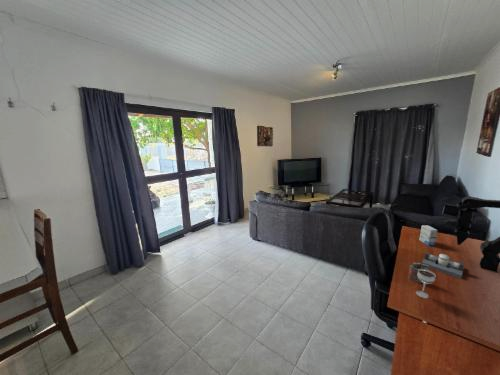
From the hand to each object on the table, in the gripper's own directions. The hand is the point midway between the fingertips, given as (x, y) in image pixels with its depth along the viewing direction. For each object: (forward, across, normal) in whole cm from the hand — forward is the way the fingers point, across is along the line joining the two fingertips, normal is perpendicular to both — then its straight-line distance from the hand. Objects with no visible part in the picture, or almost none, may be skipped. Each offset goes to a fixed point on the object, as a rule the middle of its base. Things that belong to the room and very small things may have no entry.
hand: (459, 241), depth 129 cm
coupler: (+12, +15, -4) cm, 20 cm away
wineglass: (+12, +51, -8) cm, 53 cm away
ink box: (+12, -14, -16) cm, 25 cm away
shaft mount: (+12, +15, -4) cm, 20 cm away
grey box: (+12, +40, -12) cm, 44 cm away
